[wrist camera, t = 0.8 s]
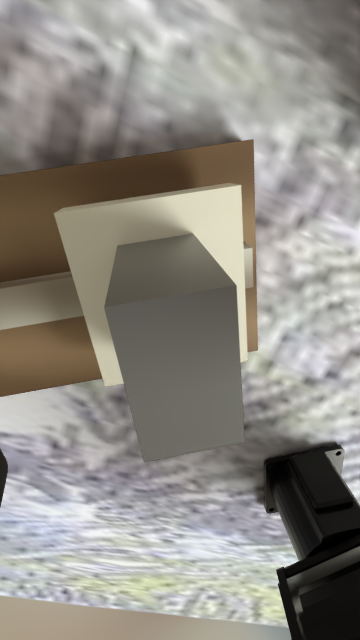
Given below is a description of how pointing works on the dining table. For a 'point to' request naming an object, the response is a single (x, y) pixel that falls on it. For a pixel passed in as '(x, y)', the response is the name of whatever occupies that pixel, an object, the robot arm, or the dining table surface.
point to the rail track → (52, 265)
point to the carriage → (166, 310)
